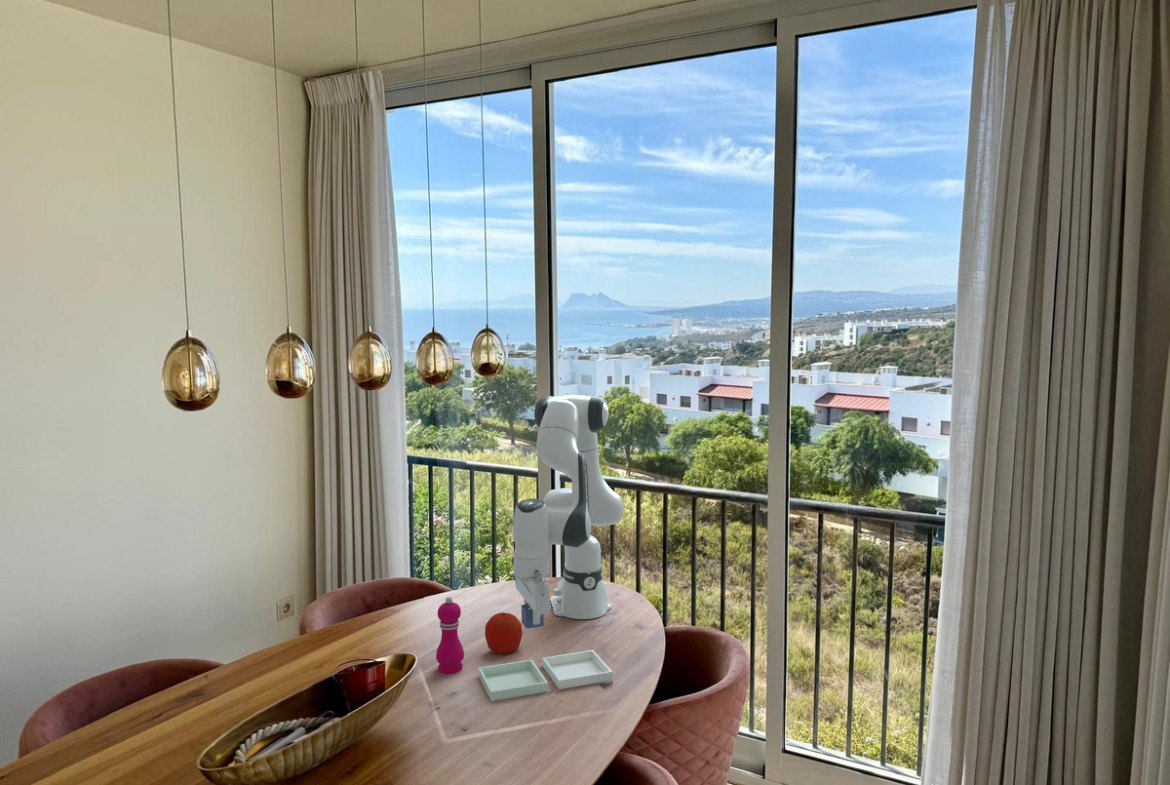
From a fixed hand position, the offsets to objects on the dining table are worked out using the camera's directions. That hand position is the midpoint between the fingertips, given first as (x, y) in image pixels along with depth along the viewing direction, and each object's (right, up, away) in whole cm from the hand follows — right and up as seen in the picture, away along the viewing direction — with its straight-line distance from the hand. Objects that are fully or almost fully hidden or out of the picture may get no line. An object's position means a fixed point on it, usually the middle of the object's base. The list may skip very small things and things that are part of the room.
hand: (532, 619), depth 195 cm
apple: (-9, -15, +20) cm, 27 cm away
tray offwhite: (+11, -16, +5) cm, 20 cm away
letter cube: (0, -1, 0) cm, 1 cm away
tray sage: (-5, -17, -1) cm, 17 cm away
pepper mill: (-22, -16, +8) cm, 28 cm away
